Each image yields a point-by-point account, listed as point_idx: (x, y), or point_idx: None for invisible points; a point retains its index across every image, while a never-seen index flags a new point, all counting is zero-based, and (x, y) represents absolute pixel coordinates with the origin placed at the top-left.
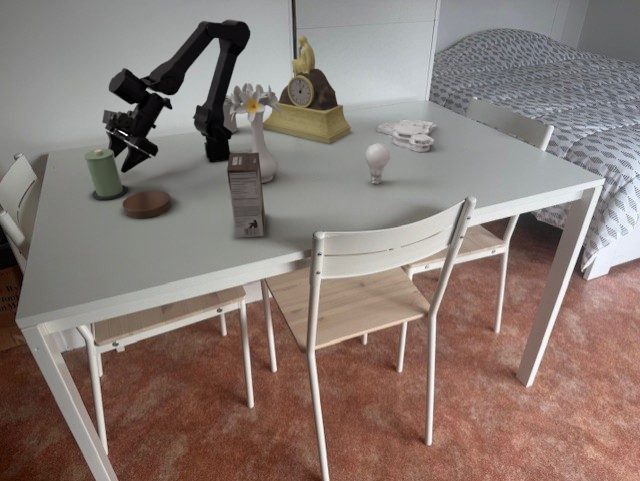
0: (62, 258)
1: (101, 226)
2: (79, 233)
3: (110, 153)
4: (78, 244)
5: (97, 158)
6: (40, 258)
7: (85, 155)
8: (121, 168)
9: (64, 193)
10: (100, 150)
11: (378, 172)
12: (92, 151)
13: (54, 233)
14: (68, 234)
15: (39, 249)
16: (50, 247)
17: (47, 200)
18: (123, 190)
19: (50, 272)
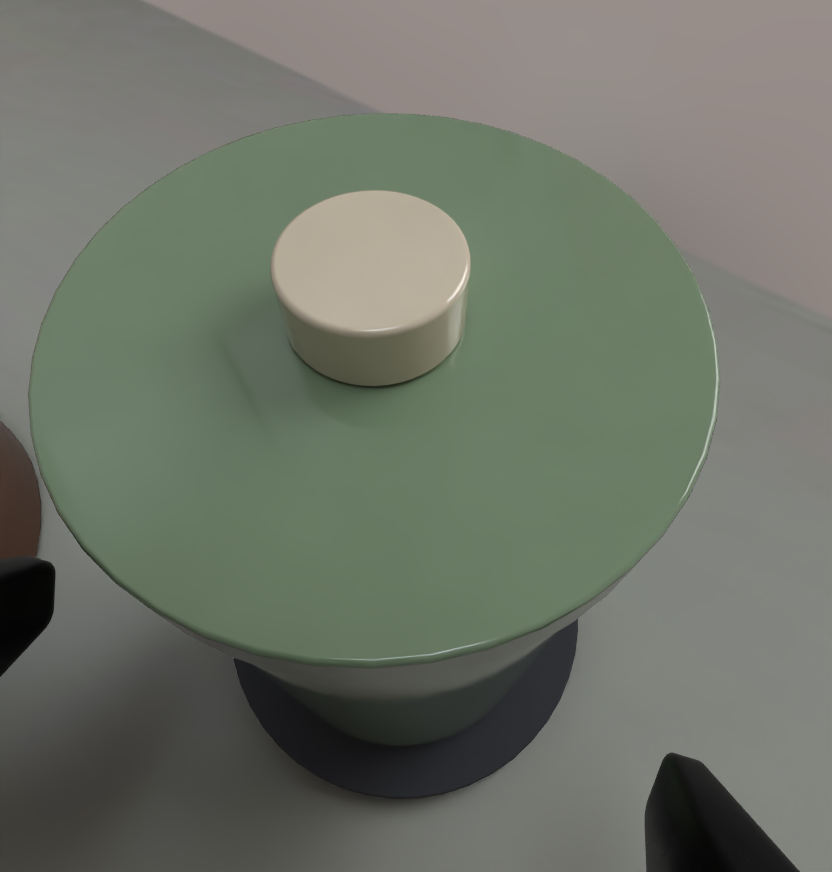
0: (45, 51)
1: (49, 248)
2: (129, 166)
3: (94, 445)
4: (52, 119)
5: (185, 173)
6: (145, 24)
7: (549, 161)
8: (8, 569)
9: (760, 402)
10: (316, 285)
11: None
12: (656, 332)
13: (266, 122)
14: (182, 142)
15: (210, 46)
16: (173, 67)
17: (730, 287)
18: (286, 692)
19: (22, 3)
